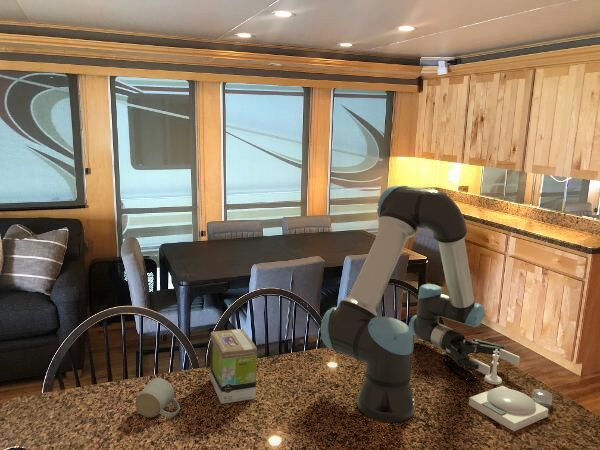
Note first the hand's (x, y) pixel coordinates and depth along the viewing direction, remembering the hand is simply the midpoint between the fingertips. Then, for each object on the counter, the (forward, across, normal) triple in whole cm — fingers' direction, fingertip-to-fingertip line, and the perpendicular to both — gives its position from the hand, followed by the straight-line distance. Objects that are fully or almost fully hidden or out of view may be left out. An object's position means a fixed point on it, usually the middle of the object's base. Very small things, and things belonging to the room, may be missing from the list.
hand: (504, 366), depth 147 cm
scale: (+10, +11, -6) cm, 16 cm away
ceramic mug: (-34, +92, -6) cm, 98 cm away
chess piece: (-3, 0, -6) cm, 7 cm away
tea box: (-35, +71, -6) cm, 79 cm away
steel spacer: (+12, -1, -6) cm, 13 cm away
